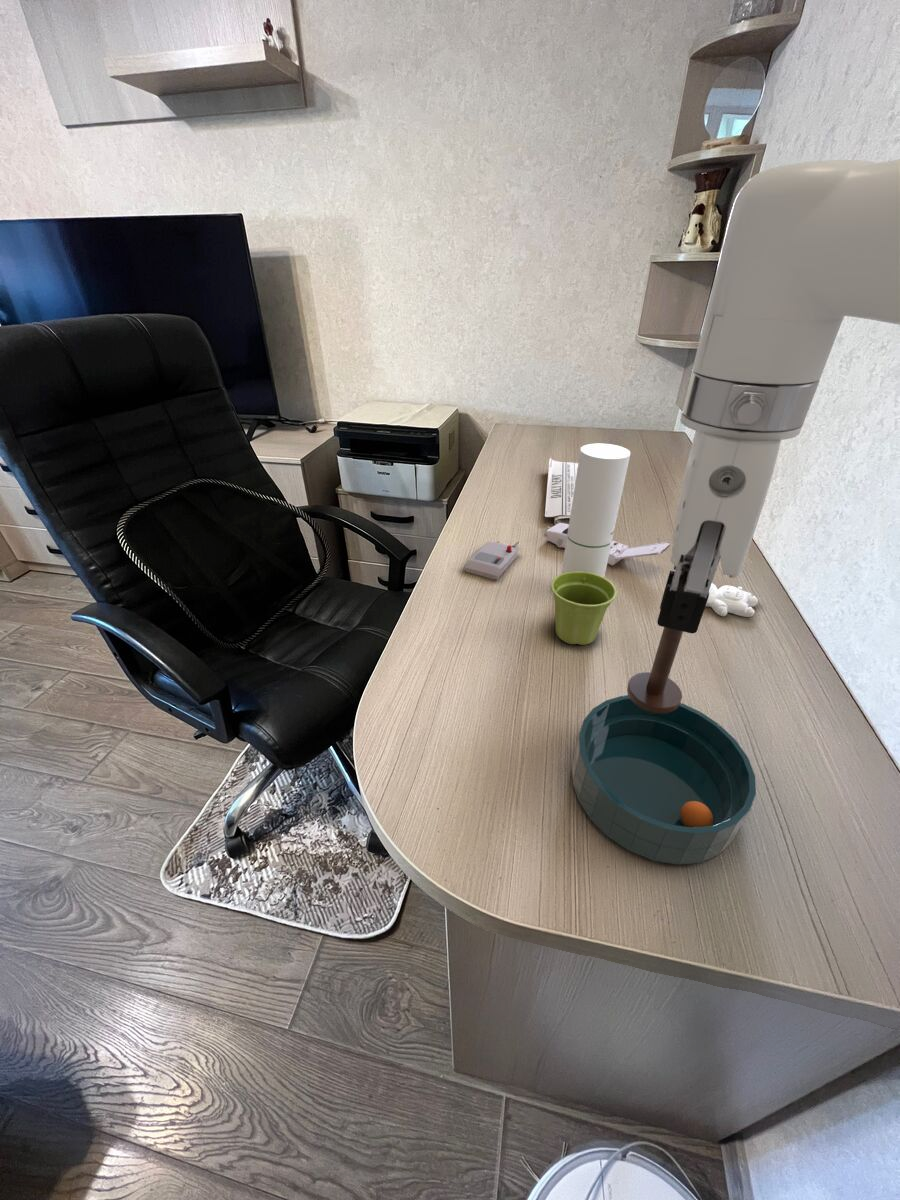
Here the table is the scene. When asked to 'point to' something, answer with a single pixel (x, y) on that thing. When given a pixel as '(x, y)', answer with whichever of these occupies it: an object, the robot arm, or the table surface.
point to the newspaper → (560, 490)
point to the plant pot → (580, 605)
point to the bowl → (661, 779)
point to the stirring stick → (658, 677)
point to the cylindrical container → (595, 507)
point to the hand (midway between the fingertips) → (677, 619)
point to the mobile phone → (617, 550)
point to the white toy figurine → (731, 601)
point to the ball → (696, 815)
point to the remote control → (491, 560)
